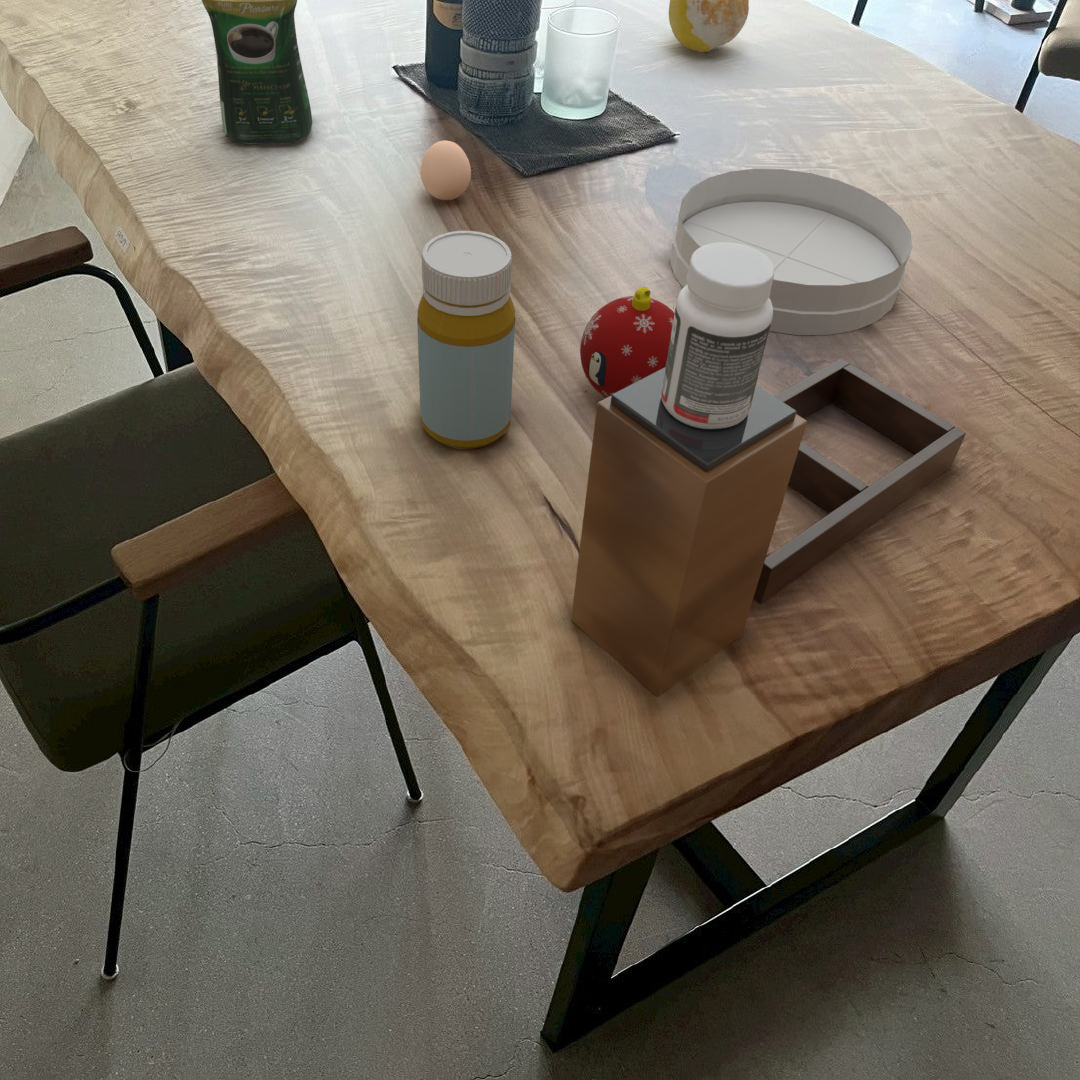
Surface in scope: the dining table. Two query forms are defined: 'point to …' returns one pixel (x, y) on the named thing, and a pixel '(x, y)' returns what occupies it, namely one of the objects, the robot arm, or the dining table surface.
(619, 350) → the christmas ornament
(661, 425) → the coaster
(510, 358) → the bottle
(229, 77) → the coffee jar
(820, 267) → the dish
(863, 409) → the rack
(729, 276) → the pill bottle
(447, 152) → the egg
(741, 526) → the riser
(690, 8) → the fruit
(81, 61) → the dining table surface
